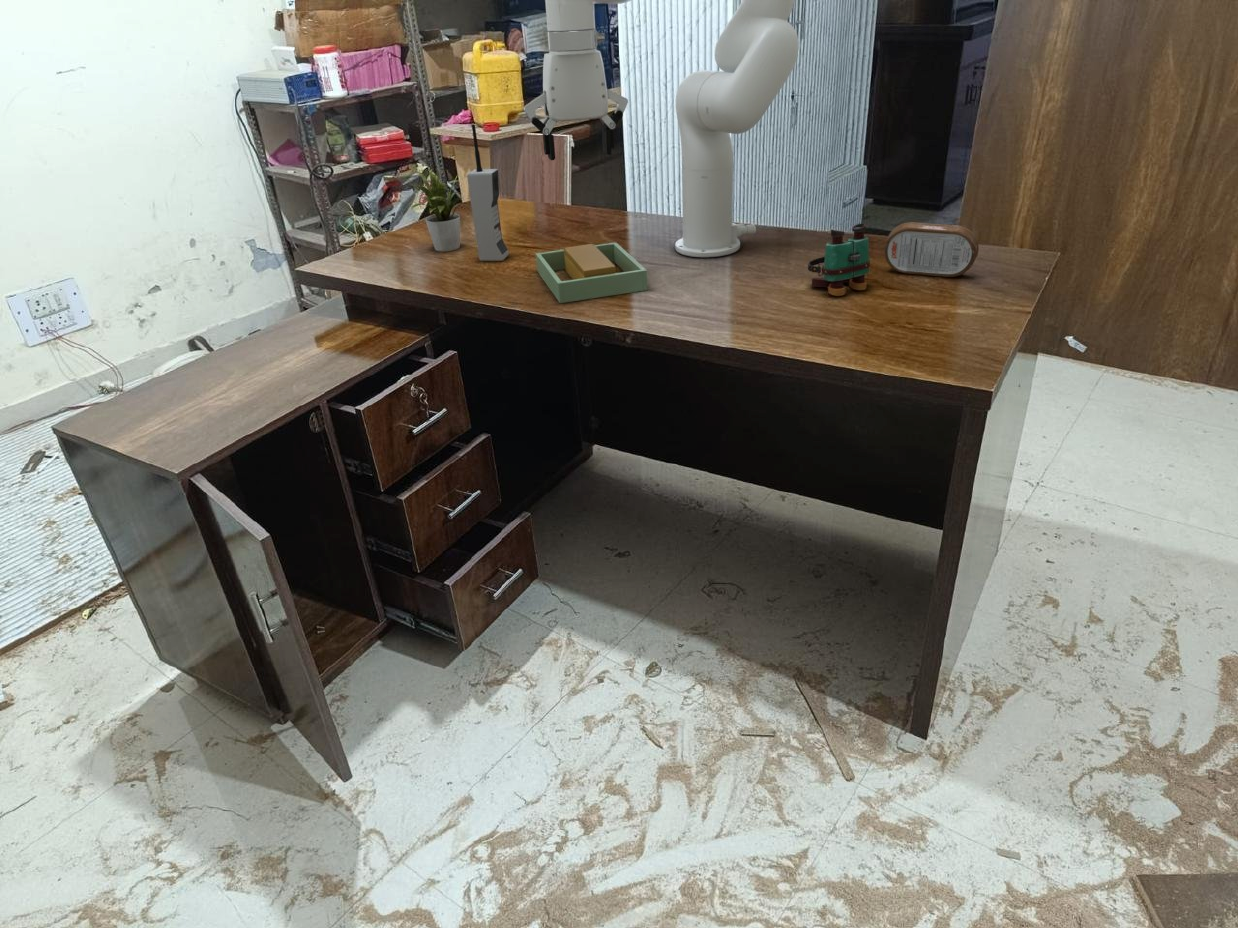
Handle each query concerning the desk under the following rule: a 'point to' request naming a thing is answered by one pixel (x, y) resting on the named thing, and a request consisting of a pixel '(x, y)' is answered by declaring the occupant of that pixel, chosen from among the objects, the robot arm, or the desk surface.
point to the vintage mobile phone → (486, 210)
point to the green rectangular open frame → (593, 286)
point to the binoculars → (843, 262)
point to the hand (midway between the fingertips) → (579, 156)
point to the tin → (931, 249)
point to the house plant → (441, 214)
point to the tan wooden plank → (587, 262)
